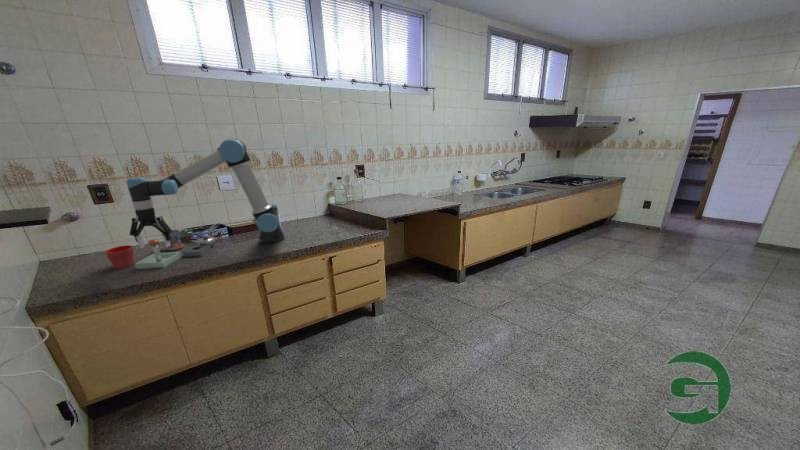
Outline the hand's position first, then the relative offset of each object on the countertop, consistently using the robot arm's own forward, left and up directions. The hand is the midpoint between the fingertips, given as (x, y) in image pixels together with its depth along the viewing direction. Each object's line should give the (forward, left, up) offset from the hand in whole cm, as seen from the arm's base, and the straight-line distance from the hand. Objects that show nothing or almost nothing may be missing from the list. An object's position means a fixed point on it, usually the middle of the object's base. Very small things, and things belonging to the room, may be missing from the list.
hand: (155, 246), depth 159 cm
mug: (+6, -22, -9) cm, 25 cm away
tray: (0, 0, -9) cm, 9 cm away
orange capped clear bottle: (0, 0, -8) cm, 8 cm away
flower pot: (+17, +2, -10) cm, 20 cm away
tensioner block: (-13, -17, -9) cm, 23 cm away
